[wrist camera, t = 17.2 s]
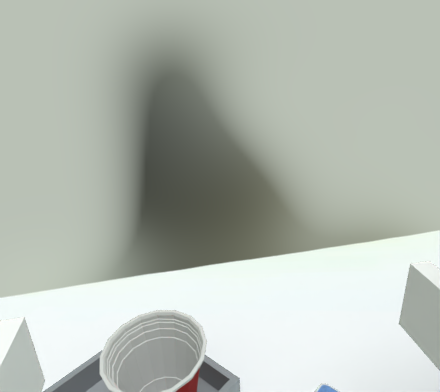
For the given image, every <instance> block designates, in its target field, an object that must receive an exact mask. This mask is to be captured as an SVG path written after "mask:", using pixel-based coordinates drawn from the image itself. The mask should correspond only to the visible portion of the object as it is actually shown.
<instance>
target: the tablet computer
mask: <svg viewBox="0 0 440 392" xmlns="http://www.w3.org/2000/svg"><path fill="white" fill-rule="evenodd" d="M315 392H340V391H338V390H337V389H335V388H333V387H332V386H330V385H328V384H320V385H319V386H318V387H317V389H316V390H315Z"/></svg>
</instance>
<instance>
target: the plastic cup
mask: <svg viewBox="0 0 440 392" xmlns="http://www.w3.org/2000/svg"><path fill="white" fill-rule="evenodd" d="M206 344H207V340H206V337H205V334H204V331H203V328H202V326H201V325H200V324H199V323H198V322H197V321H196V320H195V319H194V318H193V317H192V316H190V315H187V314H184V313H181V312H179V311H176V310H156V311H153V312H149V313H145V314H142V315H138V316H137V317H135V318H133V319H132V320H130V321H128V322H126V323H125V324H123V325H121V326H120V327H119V329H118V330H117V331H116V332H115V333H114V334H113V335H112V336H111V337H110V338H109V339H108V340H107V342H106V344H105V347H104V349H103V351H102V353H101V355H100V375H101V377H102V379H103V381H104V382H105V384H106V386H107V387H108V389H109V390H110V391H112V392H197V386H198V377H199V371H200V366H201V365H202V363H203V361H204V355H205V350H206Z"/></svg>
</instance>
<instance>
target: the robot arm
mask: <svg viewBox="0 0 440 392" xmlns="http://www.w3.org/2000/svg"><path fill="white" fill-rule="evenodd" d="M399 324H400V325H401V327H402V328H403V329H404V330H405V331H406V332H407V333H408V335H409V336H410V337H411V338H412V339H413V340H414V342H415V343H416V344H417V345H418V346H419V347H420V348H421V350H422V351H423V352H424V353H425V354H426V355H427V357H428V358H429V359H430V360H431V361H432V362H433V363H434V365H435V366H436V367H437V368H438V369H439V370H440V269H439V268H438V267H437V266H436V265H434V264H433V263H432V262H431V261H425V262H418V263H411V264H410V268H409V273H408V278H407V284H406V289H405V294H404V299H403V305H402V310H401V315H400V321H399ZM44 382H45V379H44V376H43V373H42V370H41V366H40V363H39V360H38V357H37V354H36V351H35V348H34V345H33V342H32V339H31V336H30V333H29V330H28V327H27V323H26V320H25V317H21V318H14V319H6V320H0V392H41V391H42V388H43V385H44Z"/></svg>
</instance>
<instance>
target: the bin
mask: <svg viewBox="0 0 440 392" xmlns="http://www.w3.org/2000/svg"><path fill="white" fill-rule="evenodd" d="M102 351H103V350H102ZM102 351H101V352H99V353H98V354H96V355H95V356H93V357H92V358H91V359H89V360H88V361H86V362H85V363H83V364H82V365H81V366H79V367H78V368H76V369H75V370H73V371H72V372H71V373H69V374H68V375H66V376H65V377H63V378H62V379H61V380H59V381H58V382H56V383H55V384H53V385H52V386H51V387H49V388H48V389H46V390H45V391H44V392H112V391H110V390H109V389H108V387H107V386H106V384H105V382H104V381H103V379H102V377H101V375H100V355H101V353H102ZM197 392H240V378H238V377H237V376H235V375H234V374H232V373H231V372H229V371H228V370H227V369H225V368H224V367H222V366H221V365H219V364H218V363H216V362H215V361H213V360H212V359H210V358H209V357H207V356H206V355H204V361H203V363H202V365H201V366H200V371H199V377H198V386H197Z"/></svg>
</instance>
